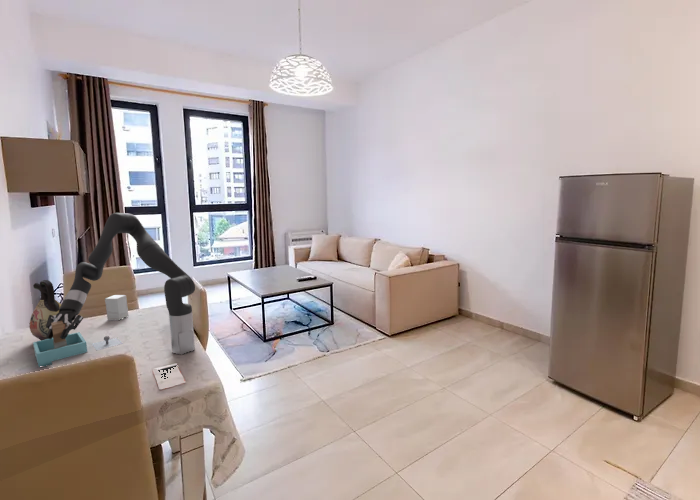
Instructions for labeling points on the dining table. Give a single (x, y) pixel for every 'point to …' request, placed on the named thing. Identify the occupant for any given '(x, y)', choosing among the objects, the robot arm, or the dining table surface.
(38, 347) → the teal bin
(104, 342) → the stud plate
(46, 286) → the ceramic jug
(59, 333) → the walnut strut
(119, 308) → the supplement box
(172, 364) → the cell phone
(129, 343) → the dining table surface
